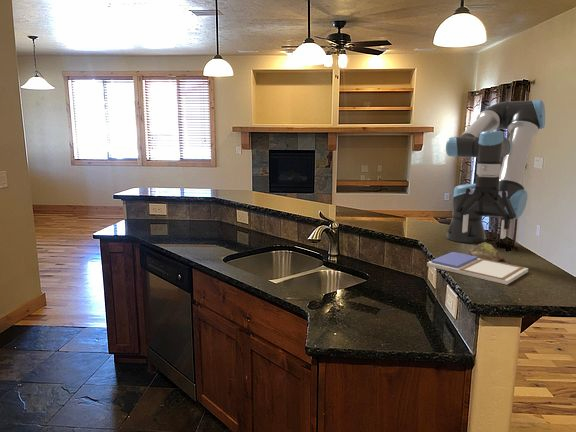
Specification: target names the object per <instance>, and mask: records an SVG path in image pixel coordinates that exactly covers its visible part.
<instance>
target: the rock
mask: <svg viewBox="0 0 576 432" xmlns="http://www.w3.org/2000/svg"><path fill="white" fill-rule="evenodd" d="M468 255H472V256H477V258H480V259H487V260H492V261H497V262H500V261H502V260H504V258H503V256H501V255H500V253H499V251H498V250H497V249H496V248H495V247H494V246H493V245H492V244H491V243H488V242H485V241H483V242H480V243H478V244H477V245H476V246H475V247H471V248H469V249H468Z"/></svg>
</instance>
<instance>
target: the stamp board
mask: <svg viewBox="0 0 576 432" xmlns="http://www.w3.org/2000/svg"><path fill="white" fill-rule="evenodd" d="M426 266H427V267H429V268H434V269H439V270H443V271H447V272H450V273H451V272H452V273H456V274H459V275H464V276H467V277H468V276H469V277H471V278H472V277H473V278H475V279H476V278H477V279H480V280H481V279H482V280H486V281H489V282H493V283H497V284H503V285H506V286H508V285H509V284H510V283H512V282H515V280H518V279H519V278H520V277H523V276H524V275H525V274H527V273H529V268H528V267H525V266H522V265H521V266H520V265H517V264H516V265H515V264H512V263H511V264H510V263H507V262H502V261H492V260H487V259H480V258H477V256H473V255H472V254H466V253H461V252H456V251H451V252H448V253H447V254H444V255H441V256H438V257H436V258H434V259H432V260H430V261H428V262H426Z"/></svg>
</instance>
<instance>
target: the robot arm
mask: <svg viewBox="0 0 576 432" xmlns="http://www.w3.org/2000/svg"><path fill="white" fill-rule="evenodd" d="M545 126H546V108H545V103H544V101H542V100H538V99H537V100H534V99H531V100H517V101H514V100H513V101H501V102H497V103H495V104H492V105H491V106H488V107H486V108H484V109H483V110H482V111H481V112H480V113H478V115H477V117H476V120H475V121H474V122H473V123H472V124H471V125H469V127H468V128H467V129H465V131H463V132H462V133H461V135H459V136H452V137H451V136H450V137H449V138H447V140H446V144H445V152H446V155H447V156H448V157H453V158H454V157H455V158H477V162H476V163H477V164H476V175H477V176H476V177H475V183H466V184H465V183H464V184H459V185H457V186H455V187H454V189H453V196H452V212H451V213H452V214H451V216H452V217H451V221H450V224H449V226H448V229H447V231H446V239H447V240H450V241H453V242H457V243H465V244H466V243H468V244H469V243H470V244H474V243H475V244H477V243H478V244H479V243H484V242H485V241H486V231H485V228H484V223H483V217H488V218H498V219H502V220H501V227H500V237H499V239H502V240H503V239H505V238H507V237H506V236H507V230H509V229H510V224H511V220H517V219H519V218H520V217H521V216H522V215H523V213H524V211H525V209H526V205H527V201H528V192H527V190H525V186H524V185H523V184H522V182H523V178H524V175H525V170H526V165H527V162H528V158H529V154H530V149H531V145H532V141H533V137H535V136H536V135H537V134H538V133H539V130H542V129H544V128H545ZM497 130H498V131H497ZM501 130H507V132H508V133H509V135H508V138H507V137H505V136H504V132H503V131H501ZM502 158H503V159H502Z"/></svg>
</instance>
